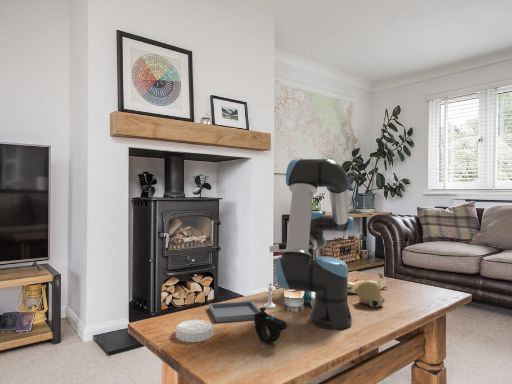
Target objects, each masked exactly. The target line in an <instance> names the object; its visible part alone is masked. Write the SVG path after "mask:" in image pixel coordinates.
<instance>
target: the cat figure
mask: <svg viewBox="0 0 512 384" xmlns="http://www.w3.org/2000/svg"><path fill="white" fill-rule="evenodd" d="M377 275H378V277H379V278H378V279H377V280H374V281H375V282H376V283H377V285H378V287H379V289H381V288H382V289H383V288H388V287H387V286H386V285H387V284H386V283H381V281H382V280H383V279H384V276H383V274H382V273H380V272H379V273H378V274H377ZM363 281H364V280H359V278H357V279H355V280H354V281H353V282H351V281H347V294H350V293H351V294H357V292H355V289H357V288H358V286H359V284H360V283H361V282H363ZM382 289H381V290H382Z"/></svg>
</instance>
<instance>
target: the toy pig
mask: <svg viewBox="0 0 512 384" xmlns="http://www.w3.org/2000/svg"><path fill="white" fill-rule="evenodd" d="M362 281H363V282H361V283H360V284H359V286H358V288H357V289H355V292H357V293H356V294H357V297H358V298H359V300H358V301H359V302H358V303H360V304H365V305H368V306H370V307H371V308H379V307H382V306H383V304H384V303H385V298H384V297H383V296H382V292H381V290H380V288H379V287H378V285H377V283H376V282H375V281H376V280H373V279H366V280H362Z"/></svg>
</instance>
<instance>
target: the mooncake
mask: <svg viewBox="0 0 512 384" xmlns="http://www.w3.org/2000/svg"><path fill="white" fill-rule="evenodd" d="M213 327H214V326H213V323H211V322H210V321H206V320H202V319H190V320H184V321H182V322H179V323H178V324H177V325H176V326H175V338H176V339H177V340H178V341H181V342H186V343H200V342H204V341H206V340H209V339H210V338H212V336H213V334H214V333H213V331H214V328H213Z"/></svg>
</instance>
